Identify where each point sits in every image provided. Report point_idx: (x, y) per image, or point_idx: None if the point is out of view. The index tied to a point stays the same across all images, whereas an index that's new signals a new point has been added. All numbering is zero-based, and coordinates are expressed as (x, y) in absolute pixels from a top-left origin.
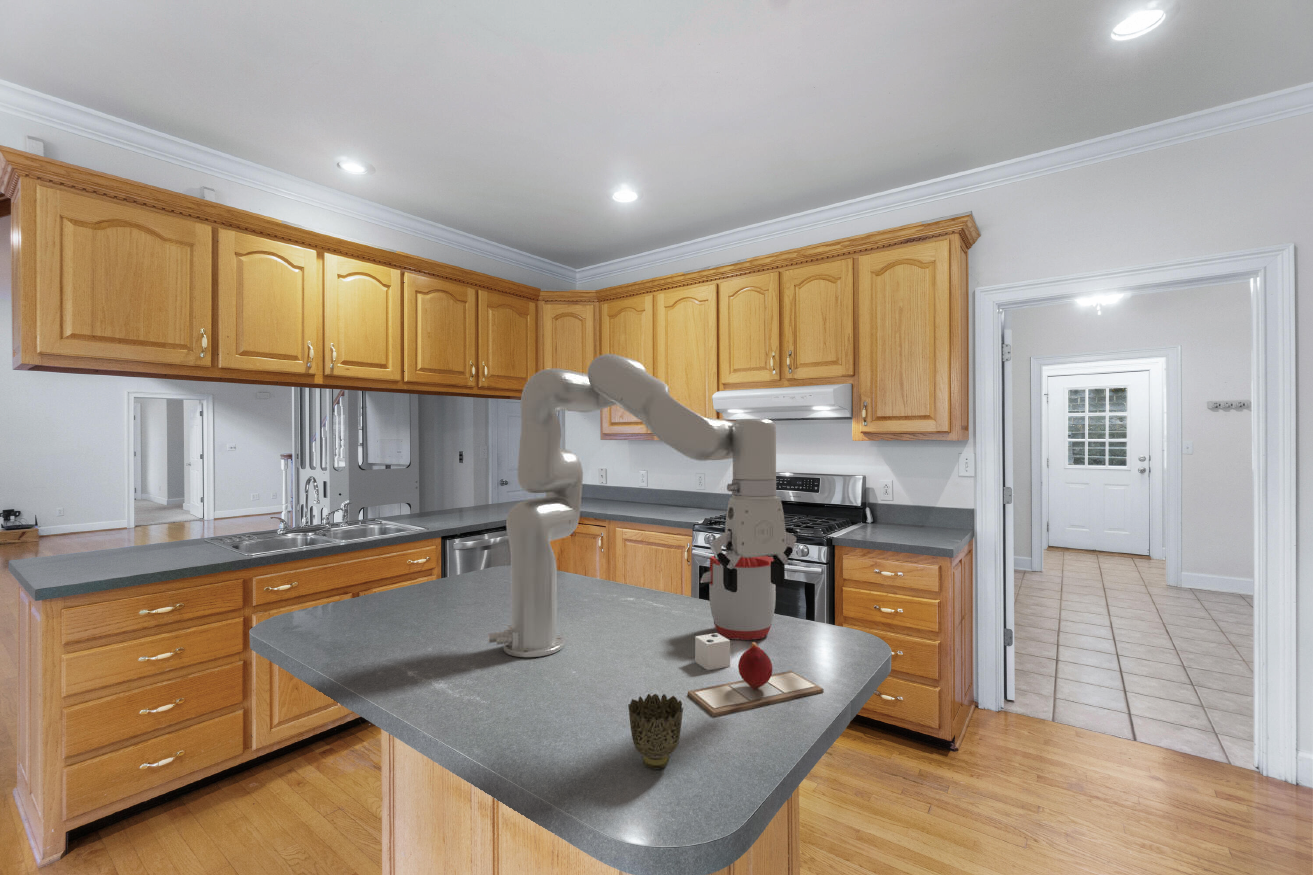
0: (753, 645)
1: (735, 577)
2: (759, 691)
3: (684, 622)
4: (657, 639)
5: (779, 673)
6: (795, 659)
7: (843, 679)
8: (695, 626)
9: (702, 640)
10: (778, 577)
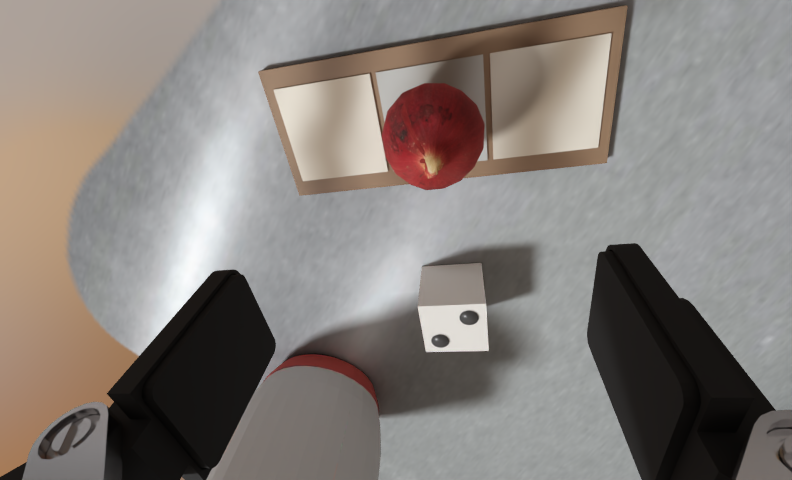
0: (438, 157)
1: (677, 320)
2: None
3: (413, 448)
4: (502, 408)
5: (333, 188)
6: (265, 254)
7: (189, 126)
8: (401, 430)
9: (485, 326)
10: (223, 324)
